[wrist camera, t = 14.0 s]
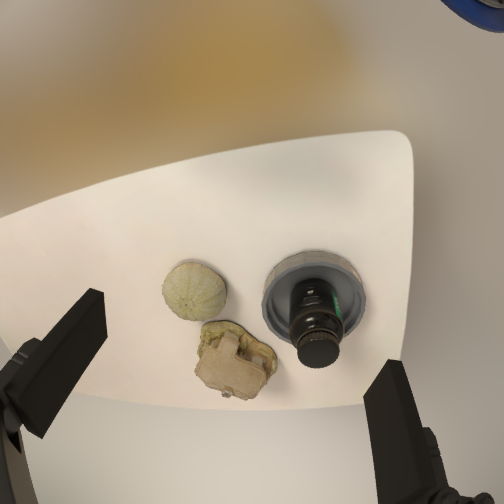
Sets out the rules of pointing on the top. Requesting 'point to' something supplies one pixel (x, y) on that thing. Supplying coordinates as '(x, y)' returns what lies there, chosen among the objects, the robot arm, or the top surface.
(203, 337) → the ceramic model
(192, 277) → the sea urchin shell
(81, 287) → the top surface
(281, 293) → the dish
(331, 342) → the supplement bottle
